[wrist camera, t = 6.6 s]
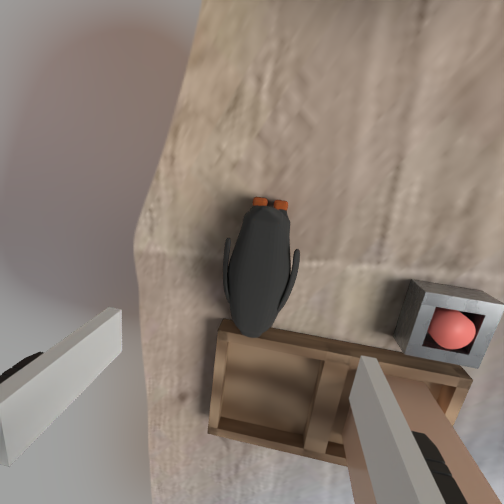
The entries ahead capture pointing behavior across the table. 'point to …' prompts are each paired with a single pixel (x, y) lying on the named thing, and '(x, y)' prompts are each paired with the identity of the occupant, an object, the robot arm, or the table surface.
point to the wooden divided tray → (307, 388)
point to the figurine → (260, 268)
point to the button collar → (450, 297)
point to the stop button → (451, 328)
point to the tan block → (437, 430)
